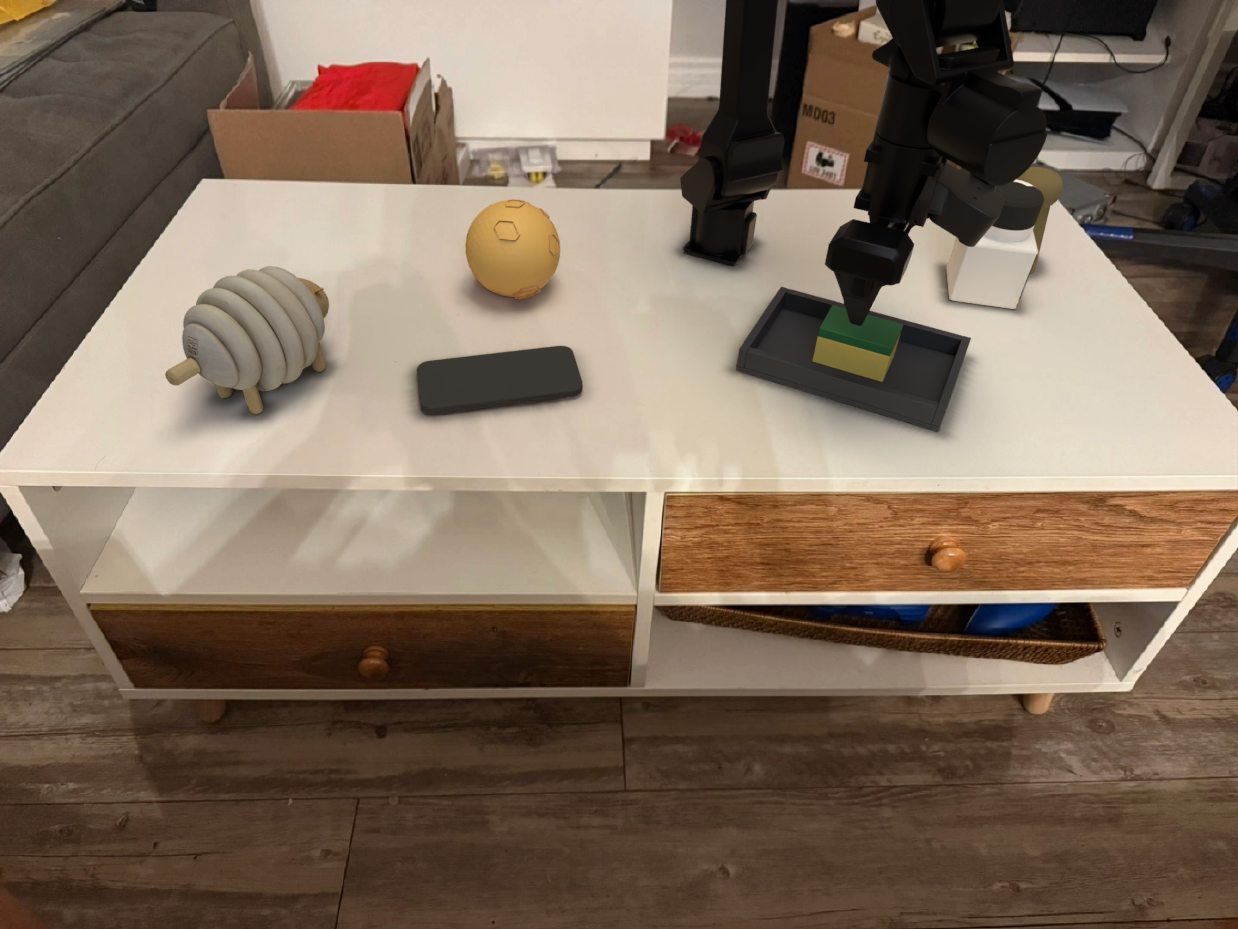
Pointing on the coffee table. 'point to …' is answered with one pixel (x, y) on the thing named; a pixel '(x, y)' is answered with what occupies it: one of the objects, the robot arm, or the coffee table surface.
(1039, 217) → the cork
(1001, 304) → the medicine bottle
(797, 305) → the tray
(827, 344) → the sponge
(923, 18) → the robot arm
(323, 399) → the coffee table surface
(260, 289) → the toy sheep
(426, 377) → the phone
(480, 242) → the stress ball
